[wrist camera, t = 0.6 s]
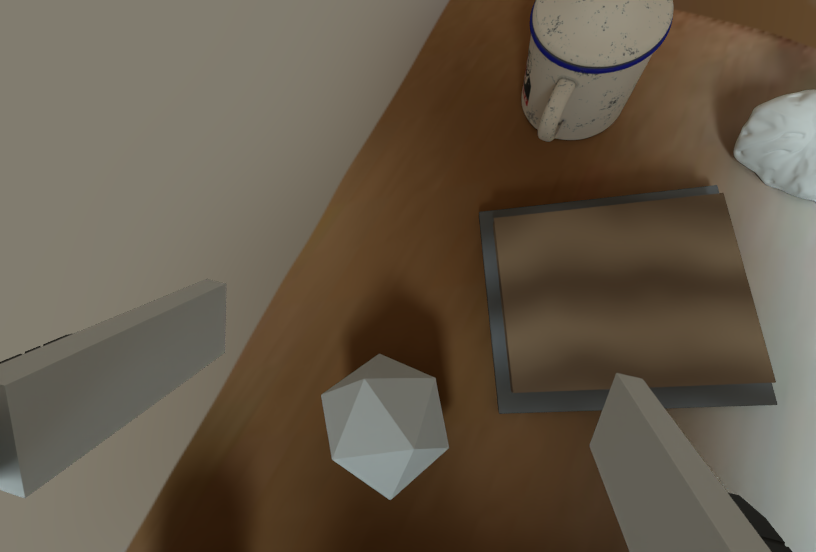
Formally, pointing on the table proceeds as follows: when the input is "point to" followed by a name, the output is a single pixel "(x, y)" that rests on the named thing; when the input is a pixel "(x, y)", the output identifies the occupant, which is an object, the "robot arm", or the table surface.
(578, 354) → the pedestal
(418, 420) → the die
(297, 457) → the table surface
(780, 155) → the bust
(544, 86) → the teacup with lid
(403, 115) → the table surface
